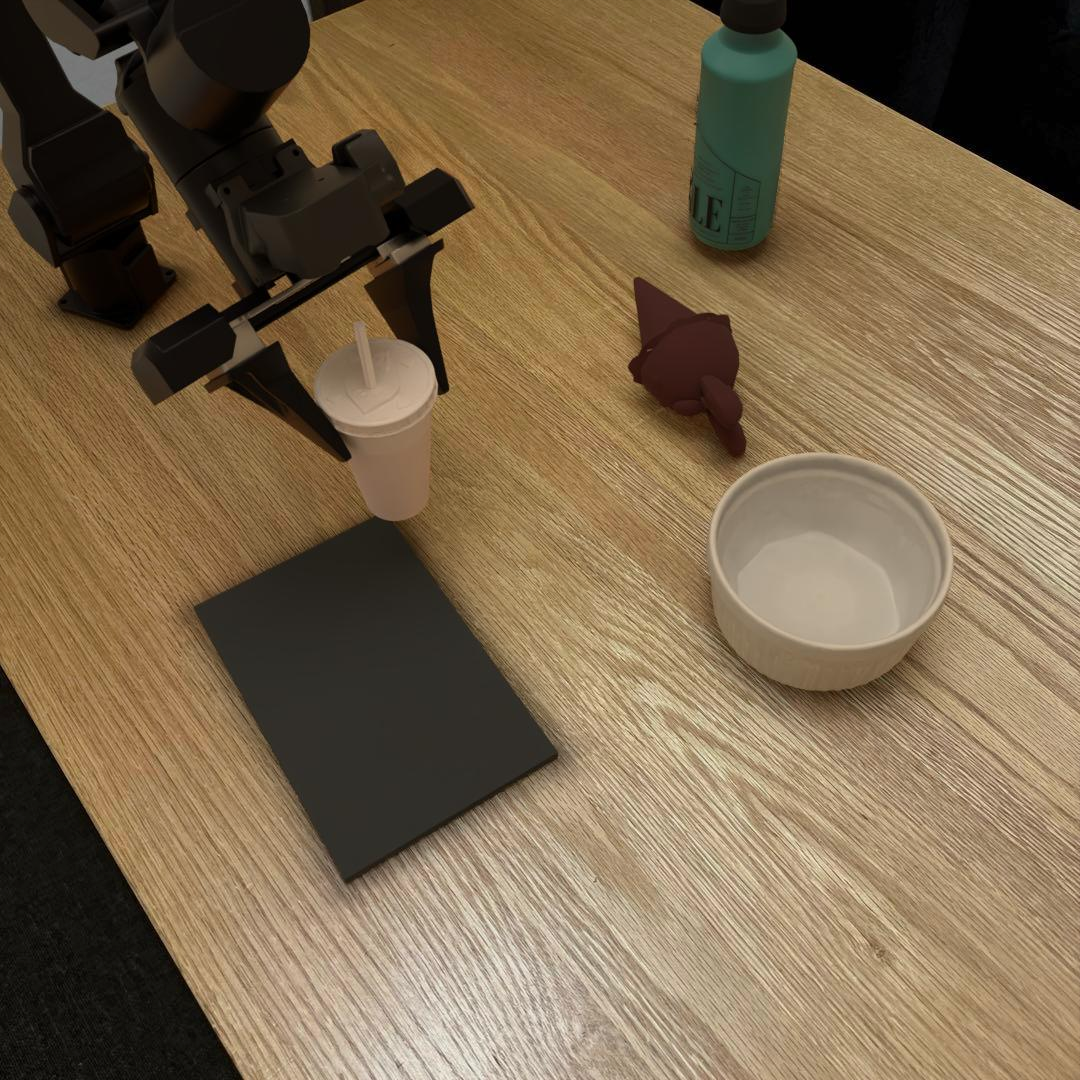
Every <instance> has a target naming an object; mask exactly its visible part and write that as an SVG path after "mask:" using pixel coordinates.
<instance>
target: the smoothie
mask: <svg viewBox="0 0 1080 1080" xmlns="http://www.w3.org/2000/svg"><path fill="white" fill-rule="evenodd" d="M352 327H353V332H354V336H355V341H352V342H350V343H347V344H345V345H342V346H341V347H339V348H337V349H336V350H335V351H333V352H332V353H331V354H329V355H328V356H327V357H326V358H325V359H324V360H323V361H322V362H321V364H320V366H319V367H318V369H317V371H316V373H315V375H314V378H313V394H314V401H315V402H316V404H317V405H318V406H319V408H320V409H321V410H322V412H323V413H324V414H325V415H326V417H327V418H328V419H329V421H330V422H331V423H332V425H333V426H334V427H335V429H336V430H337V431H338V433H339V434H340V436H341V438H342V439H343V441H344V443H345V445H346V446H347V448H348V450H349V452H350V453H351V456H352V458H351V459H350V460H349V461H347V462H346V463H347V465H348V466H349V468H350V471H351V473H352V475H353V477H354V480H355V481H356V484H357V486H358V488H359V490H360V493H361V495H362V498H363V499H364V502H365V504H366V506H367V508H368V510H369V511H370V512H371V514H373V516H377V517H379V518H381V519H384V520H389V521H393V522H400V521H404V520H408V519H411V518H413V517H415V516H416V515H419V513H420V512H422V511H423V510H424V509H425V508H426V506H427V504H428V502H429V499H430V485H431V484H430V480H431V478H430V477H431V450H432V449H431V448H432V447H431V445H432V444H431V443H432V417H433V415H432V414H433V407H434V404H435V403H436V401H437V398H438V395H437V391H438V383H437V379H436V376H435V371H434V367H433V364H432V362H431V361H430V359H429V358H428V356H427V355H426V354H425V353H424V352H423V351H422V350H420V349H419V348H418V347H416V346H414V345H413V344H410V343H408V342H405V341H402V340H399V339H397V338H392V337H382V336H381V337H368V334H367V329H366V324H365V322H364V321H363V320H357V321H355V322H354V323H353V325H352Z"/></svg>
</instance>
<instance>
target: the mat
mask: <svg viewBox="0 0 1080 1080" xmlns="http://www.w3.org/2000/svg"><path fill="white" fill-rule="evenodd" d="M394 522H395V521H389V520H384V519H381V518H379V517H377V516H376V515H373V516H372V517H370V518H367V519H365V520H363V521H362V522H359V523H358V524H356V525H354V526H352V527H350V528H348V529H346V530H344V531H342V532H340V533H337V534H336V535H334V536H332V537H330V538H328V539H325V540H324V541H322V542H320V543H318V544H315V545H313V546H312V547H309V548H308V549H306V550H304V551H302V552H300V553H298V554H295V555H294V556H292V557H290V558H288V559H286V560H284V561H282V562H280V563H278V564H275V565H274V566H271V567H270V568H268V569H266V570H263V571H262V572H260V573H258V574H256V575H254V576H252V577H250V578H248V579H246V580H244V581H241V582H240V583H238V584H236V585H234V586H231V587H230V588H227V589H225V590H224V591H221V592H220V593H218V594H216V595H213V596H212V597H209V598H208V599H206V600H203V601H202V602H200V603H198V604H196V605H194V606H193V610H194V612H195V614H196V616H197V617H198V619H199V621H200V623H201V625H202V627H203V628H204V630H205V632H206V634H207V636H208V637H209V639H210V641H211V643H212V644H213V647H214V649H215V650H216V652H217V653H218V655H219V657H220V659H221V661H222V662H223V664H224V666H225V668H226V670H227V671H228V674H229V675H230V677H231V679H232V680H233V683H234V684H235V686H236V688H237V690H238V692H239V693H240V695H241V697H242V699H243V701H244V702H245V704H246V706H247V708H248V709H249V711H250V713H251V716H252V717H253V719H254V720H255V722H256V723H257V726H258V727H259V729H260V732H261V733H262V735H263V736H264V739H265V740H266V742H267V744H268V746H269V747H270V749H271V751H272V753H273V755H274V757H275V759H276V760H277V762H278V764H279V766H280V768H281V769H282V771H283V773H284V775H285V776H286V778H287V780H288V783H289V784H290V785H291V787H292V789H293V791H294V793H295V794H296V796H297V798H298V800H299V801H300V803H301V805H302V807H303V809H304V810H305V812H306V814H307V816H308V818H309V820H310V821H311V824H312V825H313V827H314V829H315V831H316V832H317V834H318V836H319V838H320V839H321V841H322V843H323V845H324V848H326V850H327V853H328V854H329V856H330V858H331V860H332V862H333V864H334V865H335V867H336V868H337V870H338V872H339V874H340V877H342V880H343V881H344V883H345V884H348V883H351V882H352V881H354V880H355V879H357V878H359V877H360V876H362V875H363V874H365V873H368V872H369V871H371V870H372V869H374V868H376V867H377V866H379V865H381V864H382V863H383V862H385V861H387V860H388V859H390V858H392V857H394V856H396V855H397V854H399V853H401V852H403V851H404V850H406V849H407V848H409V847H410V846H412V845H414V844H415V843H417V842H419V841H421V840H422V839H424V838H426V837H428V836H429V835H430V834H432V833H434V832H435V831H437V830H439V829H441V828H443V827H444V826H445V825H447V824H449V823H451V822H452V821H454V820H456V819H457V818H459V817H460V816H462V815H464V814H466V813H467V812H469V811H471V810H472V809H473V808H475V807H477V806H479V805H481V804H482V803H484V802H486V801H487V800H489V799H490V798H492V797H494V796H496V795H497V794H498V793H501V792H503V791H504V790H505V789H507V788H509V787H511V786H512V785H514V784H516V783H517V782H519V781H521V780H522V779H524V778H526V777H527V776H529V775H531V774H532V773H534V772H536V771H538V770H539V769H541V768H543V767H544V766H545V765H547V764H549V763H550V762H553V761H554V760H556V759H557V758H558V757H559V752H558V749H556V747H555V746H554V745H553V743H552V741H551V740H550V739H549V737H548V736H547V735H546V733H545V732H544V730H543V729H542V728H541V726H540V725H539V723H538V722H537V721H536V720H535V718H534V717H533V715H532V714H531V712H530V711H529V709H528V708H527V707H526V705H525V704H524V702H523V701H522V700H521V698H520V697H519V695H518V694H517V693H516V692H515V689H513V687H512V686H511V684H510V683H509V682H508V680H507V679H506V677H505V676H504V674H503V673H502V672H501V670H500V669H499V667H498V665H496V663H495V662H494V660H493V659H492V658H491V656H490V655H489V653H488V652H487V650H485V648H484V647H483V645H482V644H481V642H480V641H479V640H478V638H477V637H476V636H475V634H474V633H473V631H472V630H471V628H470V627H469V625H468V624H467V622H466V621H465V620H464V618H463V617H462V616H461V615H460V613H459V611H458V610H457V609H456V608H455V606H454V605H453V604H452V602H451V601H450V599H449V598H448V596H447V595H446V594H445V592H444V591H443V589H442V588H441V587H440V585H439V584H438V582H437V581H436V580H435V578H434V577H433V575H432V574H431V573H430V571H429V570H428V568H427V567H426V565H425V564H424V563H423V561H422V560H421V559H420V557H419V556H418V554H417V553H416V552H415V550H414V549H413V547H412V546H411V545H410V543H409V542H408V540H407V539H406V538H405V536H404V535H403V533H402V532H401V531H400V529H399V528H398V526H397V525H396V523H394Z"/></svg>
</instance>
